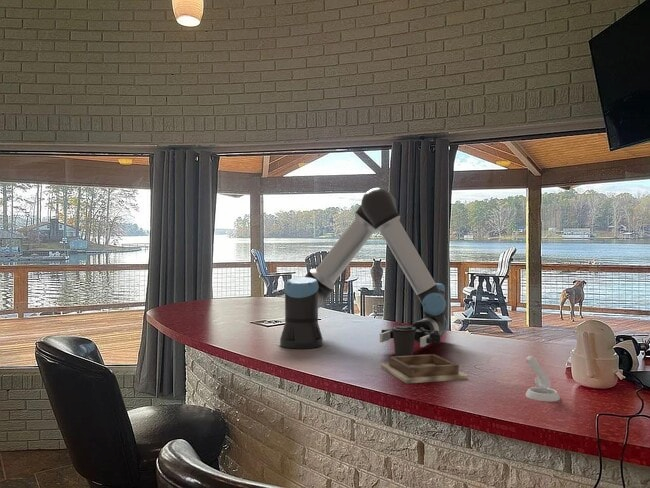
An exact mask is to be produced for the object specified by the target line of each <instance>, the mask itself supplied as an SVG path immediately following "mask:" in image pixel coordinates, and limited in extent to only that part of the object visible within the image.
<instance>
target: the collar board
mask: <svg viewBox="0 0 650 488" xmlns="http://www.w3.org/2000/svg"><path fill="white" fill-rule="evenodd" d="M388 358H389V359H388V363H381V364H380V368H381V369H382V370H384V371H385V372H387V373H388V374H390V375H392V376H393V377H395V378H396V379H398V380H399V381H401V382H403V383H405V384H417V383H420V384H421V383H422V384H423V383H432V382H433V383H435V382H436V383H437V382H447V381H459V380H469V375H467V374H466V373H464V372H462V371H460V369H459V368H460V367H459V364H457V363H455V362H453V361H451V360H448V359H447V358H444V357H442V356H440V355H437V354H436V353H432V354H413V355H411V356H394V355H393V356H389V357H388Z"/></svg>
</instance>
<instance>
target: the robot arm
mask: <svg viewBox="0 0 650 488" xmlns="http://www.w3.org/2000/svg"><path fill="white" fill-rule="evenodd" d="M397 207H398V205H397V200H396V198H395V197H394V195H393V194H391V192H389V191H388V190H387V189H385V188H383V187H374V188H371V189H369V190H367V191H366V193H364V194H363V196H362V199H361V204H360V205H359V206H358V208H357V209H356V210H355V212H354V216H355V217H354V219H353V220H352V223H351V224H350V225H349V226H348V228H346V230H345V231H344V233H342V235H341V237H340V238H339V239H338V240H337V242H335V244H334V245H333V246H332V247H331V249H330V250H329V252H328V253H327V254H326V255H325V257H324V258H323V259H322V261H321V262H320V263H319V265H318V266H317V267H316V268H311V269H309V271H308V272H307V273H306V275H305V276H303V277H294V278H290V279H288V280H286V282H285V286H284V316H285V317H284V325H283V328H282V331H281V335H280V339H279V345H280V346H281V347H282V348H287V349H296V350H297V349H298V350H299V349H301V350H303V349H304V350H305V349H315V348H319V347H322V346H323V345H324V342H323V341H324V339H323V335H322V331H321V329H320V325H319V308H321V307H323V306H324V305H325V304H326V302H327V300H328V297H330V296H331V294H332V292H333V291H334V290H335V282H336V280H338V278H339V277H340V276H341V274H342V273H343V272H344V271H345V270H346V269H347V267H348V266H349V264H350V263H351V262H352V260H353V259H354V258H355V257H356V255H357V254H358V253H359V252H360V250H362V248H363V246H364V245H365V244H366V243H367V242H368V241H369V239H370V238H371V236H372V235H373V234H375V233H380V234H381V236H382V238H383V239H384V241H385V242H386V244H387V246H388V247H389V249H390V251H391V253H392V255H393V256H394V258H395V260H396V261H397V263H398V265H399V267H400V268H401V270H402V272H403V274H404V275H405V277H406V279H407V280H408V282H409V284H410V286H411V288H412V290H413V291H414V292H415V294H416V296H417V298H418V300H419V302H420V304H421V305H422V309H423V318H422V319H420V320H417V321H415V322H414V323H413V324H412V325H411V327H413V328H416V330H417V331H416V332H415V340H414V342H417V343H419V347H420V348H424V347H426V346H428V345H430V344H434V343H436V344H438V345H439V344H441V336H442V335H444V334H445V333H446V332H447V330H448V328H449V324H448V323H449V322H448V321H447V319H446V316H445V315H446V314H445V312H446V311H445V310H446V307H447V301H446V299H445V298H446V294H445V293H446V290H445V284H443V283H439V282H435V280H434V278H433V276H432V274H431V273H430V271H429V270H428V268H427V266H426V264H425V262H424V261H423V259H422V258H421V256H420V254H419V252H418V251H417V248H416V247H415V245H414V244H413V242H412V240H411V239H410V237H409V235H408V233H407V232H406V230H405V228H404V226H403V225H402V223H401V221H400V218H401V215H400V214H399V212H398V209H397ZM391 329H392V328H387V329H381V330H380V331H381V333H379V343H385V342H388V341H389V340H391V339H394V338H393V331H392V330H391Z"/></svg>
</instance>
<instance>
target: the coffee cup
mask: <svg viewBox="0 0 650 488" xmlns="http://www.w3.org/2000/svg"><path fill="white" fill-rule="evenodd" d="M390 329H391V330H392V331H393V338H392V339H393V346H394V355H395V356H411V355H414V349H415V347H414V346H415V332H416V331H417V330H416V328H413V327H412V325H396V326H393V327H392V328H390Z"/></svg>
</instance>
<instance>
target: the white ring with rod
mask: <svg viewBox="0 0 650 488" xmlns="http://www.w3.org/2000/svg"><path fill="white" fill-rule="evenodd" d="M525 360H526V362H527V363H528V365H529V367H530V368H531V369H532V371H533V372H534V373H535V375H536V376H535V378H534V383H535V386H531V387H528V389H527V391H526V392H525V397H526V398H528V399H530V400H533V401H539V402H547V403H549V402H551V403H552V402H557V401H560V400H561V397H560V395H559V393H558V391H557V390H555V389H553V388H551V386H552V381H551V379H550V377H549V376H548V374H547V373H546V371H545V370H544V368H543V367H542V366H541V365H540V364H539V361H538V360H537V359H536V358H535V357H534V356H532V355H528V356H527V357H526V358H525Z"/></svg>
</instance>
